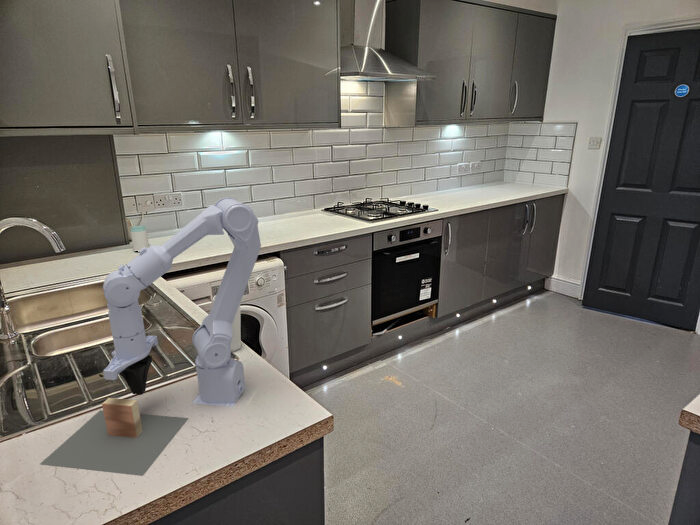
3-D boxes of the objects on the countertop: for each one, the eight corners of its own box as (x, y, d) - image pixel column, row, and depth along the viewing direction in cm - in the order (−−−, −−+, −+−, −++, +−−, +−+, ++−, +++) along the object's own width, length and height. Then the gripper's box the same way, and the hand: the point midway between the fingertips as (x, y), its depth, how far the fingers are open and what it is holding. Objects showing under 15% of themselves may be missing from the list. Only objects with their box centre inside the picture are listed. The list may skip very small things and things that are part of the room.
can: (152, 249, 223) (149, 225, 219) (142, 253, 216) (138, 228, 213) (140, 248, 225) (137, 224, 221) (130, 252, 218) (126, 227, 215)
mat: (189, 420, 93) (188, 418, 93) (143, 478, 78) (142, 475, 78) (100, 412, 96) (100, 410, 96) (40, 466, 81) (39, 464, 81)
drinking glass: (246, 342, 126) (242, 291, 122) (240, 354, 120) (235, 301, 115) (222, 342, 126) (217, 291, 122) (214, 354, 120) (208, 301, 115)
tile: (142, 431, 89) (137, 400, 87) (136, 437, 87) (130, 406, 85) (114, 428, 90) (108, 397, 88) (108, 435, 88) (101, 403, 86)
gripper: (132, 315, 96) (141, 372, 100) (83, 347, 82) (96, 412, 86) (163, 317, 95) (171, 374, 99) (119, 350, 81) (130, 415, 85)
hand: (139, 392), depth 93 cm, fingers closed
